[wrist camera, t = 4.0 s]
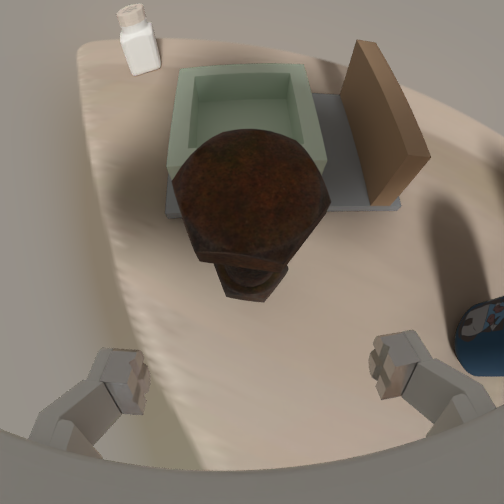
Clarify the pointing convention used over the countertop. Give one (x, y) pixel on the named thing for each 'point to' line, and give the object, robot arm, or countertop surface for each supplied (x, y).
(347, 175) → the backstop board
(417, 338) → the robot arm
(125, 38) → the pepper shaker
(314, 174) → the bolt
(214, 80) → the socket block
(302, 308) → the countertop surface
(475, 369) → the soda can
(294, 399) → the countertop surface
